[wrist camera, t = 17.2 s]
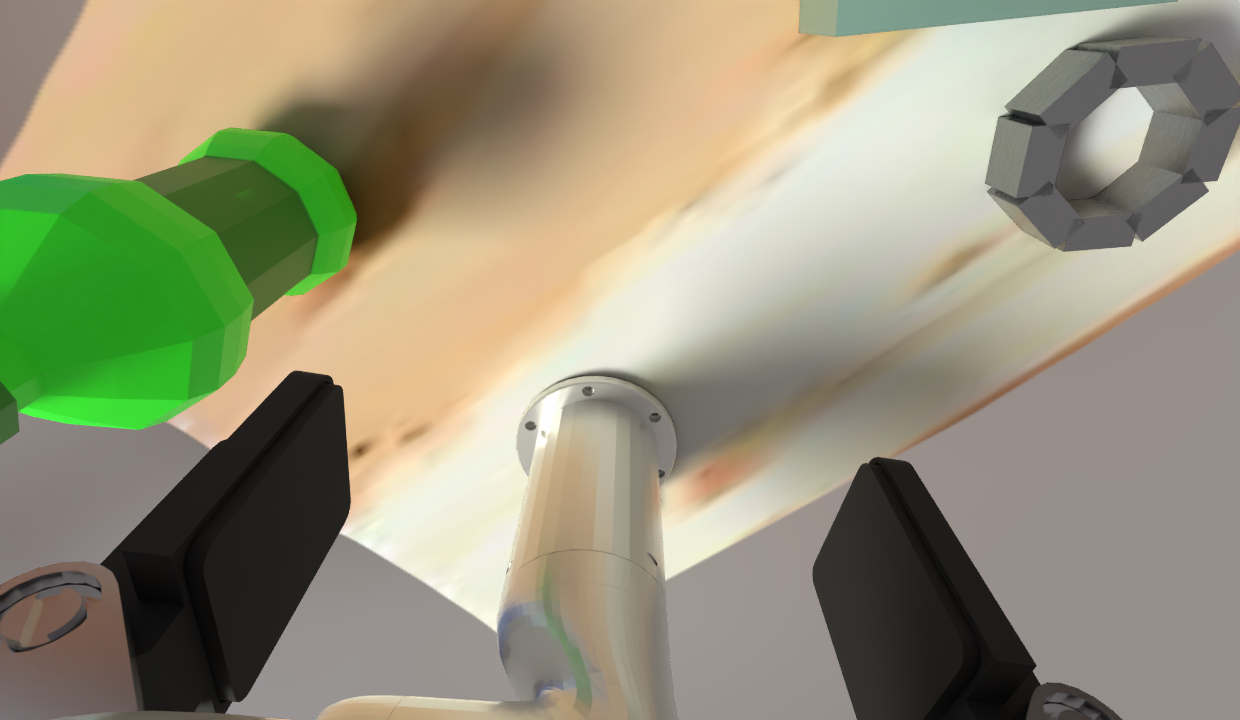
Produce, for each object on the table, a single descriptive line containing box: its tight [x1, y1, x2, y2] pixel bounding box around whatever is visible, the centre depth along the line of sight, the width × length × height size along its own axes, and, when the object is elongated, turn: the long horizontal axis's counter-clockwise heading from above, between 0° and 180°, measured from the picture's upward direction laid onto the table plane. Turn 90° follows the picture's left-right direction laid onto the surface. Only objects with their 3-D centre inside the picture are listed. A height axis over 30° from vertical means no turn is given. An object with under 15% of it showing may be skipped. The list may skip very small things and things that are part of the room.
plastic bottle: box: [0, 128, 357, 444], centre depth 28 cm, size 10×10×25 cm
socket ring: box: [985, 37, 1240, 252], centre depth 35 cm, size 11×11×4 cm
